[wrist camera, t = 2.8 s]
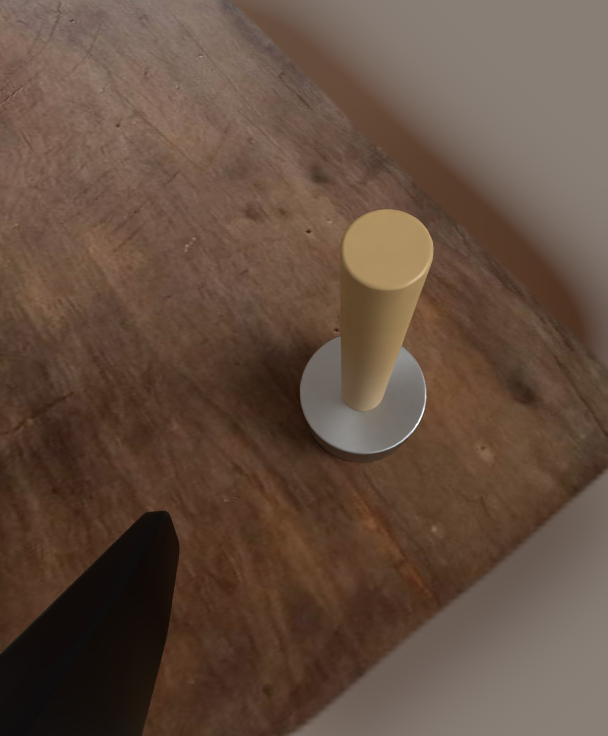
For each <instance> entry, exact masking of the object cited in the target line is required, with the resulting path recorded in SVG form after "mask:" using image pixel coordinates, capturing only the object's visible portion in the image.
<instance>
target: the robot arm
mask: <svg viewBox="0 0 608 736" xmlns="http://www.w3.org/2000/svg"><path fill="white" fill-rule="evenodd" d="M178 559H179V541H178V537H177V534H176V531H175V528H174V525H173V522H172V519H171V516H170V514H169V513H168V512H167V511H154V512H147V513H145V514H143V515H142V516H141V517H140V518H139V519H138V520H137V521H136V522H135V523H134V524H133V525H132V526H131V527H130V528H129V529H128V530H127V531H126V532H125V533H124V534H123V535H122V536H121V537H120V538H119V539H118V540H117V541H116V542H115V543H113V544H112V545H111V546H110V547H109V548H108V549H107V550H106V551H105V552H104V553H103V554H102V555H101V556H100V557H99V558H98V559H97V560H96V561H95V562H94V563H93V564H92V565H91V566H90V567H89V568H88V569H87V570H86V571H85V572H84V573H83V574H82V575H81V576H80V577H79V578H78V579H77V580H76V581H75V582H74V583H73V584H72V585H71V586H70V587H69V588H67V589H66V590H65V591H64V592H63V593H62V594H61V595H60V596H59V597H58V598H57V599H56V600H55V601H54V602H53V603H52V604H51V605H50V606H49V607H48V608H47V609H46V610H45V611H44V612H43V613H42V614H41V615H40V616H39V617H38V618H37V619H36V620H35V621H34V622H33V623H32V624H31V625H30V626H29V627H28V628H27V629H26V630H25V631H24V632H22V633H21V634H20V635H19V636H18V637H17V638H16V639H15V640H14V641H13V642H12V643H11V644H10V645H9V646H8V647H7V648H6V649H5V650H4V651H3V652H2V653H1V654H0V736H142V733H143V729H144V725H145V721H146V717H147V713H148V709H149V705H150V701H151V697H152V693H153V690H154V686H155V682H156V678H157V674H158V670H159V666H160V662H161V658H162V654H163V650H164V646H165V642H166V637H167V632H168V626H169V620H170V613H171V607H172V600H173V593H174V586H175V579H176V572H177V566H178Z"/></svg>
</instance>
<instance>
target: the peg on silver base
mask: <svg viewBox="0 0 608 736" xmlns="http://www.w3.org/2000/svg"><path fill="white" fill-rule="evenodd" d="M433 250H434V249H433V243H432V239H431V237H430V234H429V232H428V231H427V229H426V228H425V226H424V225H423V224H422V223H421V222H420V221H419V220H418V219H416V218H415V217H413V216H412V215H410V214H408V213H405V212H402V211H398V210H393V209H382V210H375V211H372V212H369V213H366V214H364V215H362V216H361V217H359V218H358V219H356V220H355V221H354V222H353V223H352V224H351V225H350V226H349V227H348V229H347V230H346V232H345V233H344V235H343V238H342V241H341V245H340V305H341V336H339V337H336V338H334V339H332V340H330V341H329V342H327V343H325V344H324V345H323V346H322V347H320V348H319V349H318V350H317V351H316V352H315V353H314V354H313V356H312V357H311V358H310V360H309V361H308V363H307V365H306V367H305V369H304V371H303V374H302V378H301V382H300V403H301V408H302V411H303V414H304V417H305V419H306V421H307V424H308V426H309V429H310V431H311V433H312V435H313V436H314V438H315V439H316V441H317V442H318V443H319V444H320V445H321V446H322V447H323V448H324V449H325V450H326V451H328V452H329V453H331V454H332V455H334V456H336V457H338V458H341V459H343V460H346V461H351V462H359V463H361V462H372V461H376V460H379V459H382V458H384V457H386V456H388V455H390V454H392V453H393V452H395V451H396V450H397V449H398V448H399V447H400V446H401V445H402V444H403V443H404V442H405V441H406V440H407V439H408V438H409V436H410V435H411V434H412V433H413V432H414V431H415V429H416V428H417V426H418V425H419V423H420V421H421V419H422V417H423V414H424V411H425V407H426V401H427V389H426V382H425V378H424V375H423V373H422V370H421V368H420V366H419V364H418V363H417V361H416V360H415V358H414V357H413V356H412V354H411V353H410V352H409V351H408V350H407V349H406V348H404V347H403V346H402V343H403V340H404V338H405V335H406V332H407V329H408V326H409V324H410V321H411V318H412V315H413V313H414V310H415V307H416V304H417V302H418V299H419V296H420V293H421V290H422V288H423V285H424V282H425V279H426V277H427V274H428V271H429V268H430V266H431V263H432V260H433Z"/></svg>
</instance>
